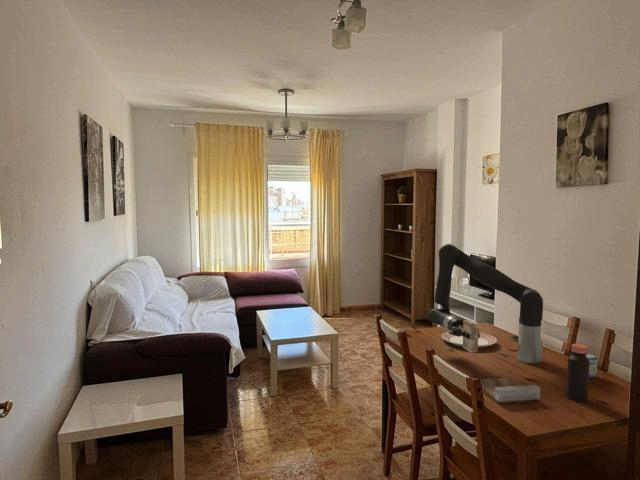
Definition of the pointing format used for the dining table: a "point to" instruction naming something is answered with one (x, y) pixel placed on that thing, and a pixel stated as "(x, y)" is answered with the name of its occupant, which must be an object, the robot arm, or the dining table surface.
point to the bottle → (578, 374)
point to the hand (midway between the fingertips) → (473, 336)
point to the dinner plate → (482, 341)
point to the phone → (514, 338)
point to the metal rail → (517, 393)
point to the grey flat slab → (501, 382)
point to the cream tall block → (472, 329)
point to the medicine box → (592, 365)
